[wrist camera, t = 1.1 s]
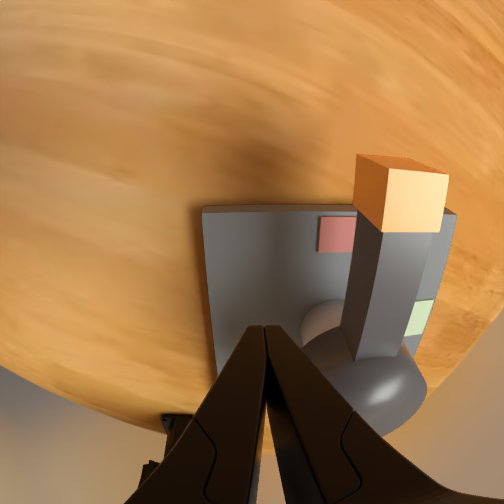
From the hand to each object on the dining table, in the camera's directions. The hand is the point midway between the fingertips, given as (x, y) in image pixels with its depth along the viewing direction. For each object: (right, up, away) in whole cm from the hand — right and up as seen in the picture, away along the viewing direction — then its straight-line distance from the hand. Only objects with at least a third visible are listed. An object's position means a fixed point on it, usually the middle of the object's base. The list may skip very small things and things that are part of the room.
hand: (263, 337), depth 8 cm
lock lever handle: (+6, -1, +9) cm, 11 cm away
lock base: (+6, -3, +16) cm, 17 cm away
